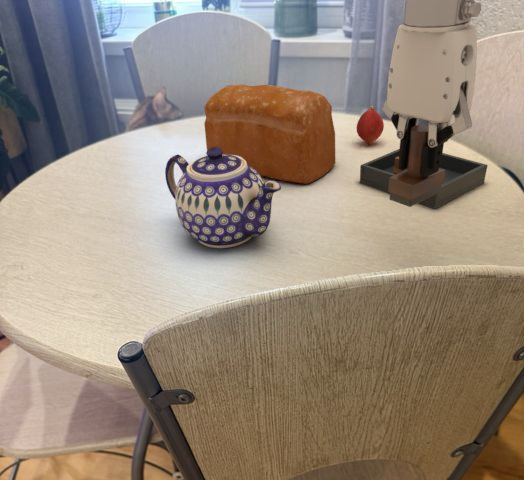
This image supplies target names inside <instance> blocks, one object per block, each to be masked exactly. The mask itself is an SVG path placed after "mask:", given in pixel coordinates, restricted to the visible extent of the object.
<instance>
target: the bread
mask: <svg viewBox="0 0 524 480" xmlns="http://www.w3.org/2000/svg"><path fill="white" fill-rule="evenodd" d="M332 111H333V106H332V105H331V104H330V102H329V101H328V99H327V98H326V96H325V95H323V94H321V93H319V92H315V91H311V90H299V89H294V88H288V87H285V86H278V85H272V84H259V85H249V84H242V83H241V84H240V83H238V84H231V85H230V84H229V85H226V86H224V87H222V88H220V90H218V91H217V92H215V93H214V94H213V95H211V96H210V97H209V98H208V100H207V102H206V103H205V105H204V114H205V120H204V132H205V133H204V135H205V143H206V145H205V146H206V151H207V150H208V149H210V148H212V147H220V148H221V149H222V150H223V154H228V155H236V156H240V157H242V158H243V159H244V160H245V161H246V163H247V165H248V166H250V167H252V168H253V169H254V170H256V172H257V173H258V174H259V175H260V176H261V177H265V178H269V179H274V180H279V181H282V182H283V181H284V182H291V183H299V184H306V185H307V184H310V183H313V182H314V181H316V180H318V179H320V178H322V177H323V176H324V175H326V174H327V173H328V172H329V171H330V170H331V169H332V168H333V167H334V166H335V164H336V129H335V124H334V121H333V115H332V114H333V112H332Z"/></svg>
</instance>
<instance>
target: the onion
mask: <svg viewBox="0 0 524 480" xmlns="http://www.w3.org/2000/svg"><path fill="white" fill-rule="evenodd" d="M384 128H385V123H384V119H383V117H382V116H381V114H379V112H377V111H376V110H375V106H373V105H371V106H370V107H369V108H368V109H367V110H366V111H365V112H363V113H362V114H361V115H360V117H359V119H358V121H357V123H356V133H357V136H358V137H359V138H360V139H361V140H362V141H363V142H365V143H366V144H367V145H372V144H373V143H374V142H375V141H376V140H378V139H379V138H380V137H381V136H382V133H383V131H384Z"/></svg>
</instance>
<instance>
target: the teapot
mask: <svg viewBox="0 0 524 480" xmlns="http://www.w3.org/2000/svg"><path fill="white" fill-rule="evenodd" d="M175 164H177V166H178V167H179V169H180V171H181V173H182V175H181V176H180V178H179V179H178V180H177V184H176V180H175ZM164 174H165V182H166V185H167V189H168V192H169V193H170V194H171V196H172V198H173V199H174V201H175V209H176V213H177V216H178V220H179V222H180V224H181V226H182V228H183V230H184V232H186V234H188V235H189V236H190V237H191V238H193V239H194V240H196V241H198V242H199V243H200V244H201V245H203V246H205V247H207V248H213V249H227V248H232V247H236V246H240V245H242V244H244V243H246V242H248V241H249V240H250V239H252V237H253V238H254V237H258V236H261V235H263V234H264V233H265V232H266V231H267V229H268V227H269V225H270V222H271V217H272V203H273V202H272V201H273V197H274V196H273V195H274V193H277V192H279V191H281V189H282V186H281V184H280V183H279V182H277V181H276V180H267V181H263V178H262V176H260V175H259V174H258V173H257V172H256V170H254V169H253V168H252V167H250V166H248V165H247V163H246V161H245V160H244V159H243V158H242V157H240V156H236V155H228V154H223V150H222V149H221V148H220V147H212V148H210V149H208V150H207V149H206V155H205V156H202V157H200V158H198V159H195V160H193V161H191V162H190V163H189V162H188V161H187V159H185V158H184V157H183V156H182V155H180V154H174V155H172V156H171V157H169V159H168V160H167V161H166V165H165V170H164Z"/></svg>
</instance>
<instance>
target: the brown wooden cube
mask: <svg viewBox="0 0 524 480" xmlns="http://www.w3.org/2000/svg"><path fill="white" fill-rule="evenodd" d="M398 165H399V156H398V157H396V158H395V165H394V173H395V174H399V173H401V172H403V171H405V170H407V168H406V169H404V170H400V169H398Z"/></svg>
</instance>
